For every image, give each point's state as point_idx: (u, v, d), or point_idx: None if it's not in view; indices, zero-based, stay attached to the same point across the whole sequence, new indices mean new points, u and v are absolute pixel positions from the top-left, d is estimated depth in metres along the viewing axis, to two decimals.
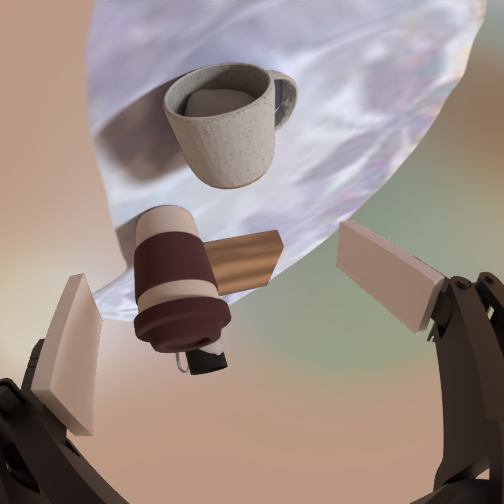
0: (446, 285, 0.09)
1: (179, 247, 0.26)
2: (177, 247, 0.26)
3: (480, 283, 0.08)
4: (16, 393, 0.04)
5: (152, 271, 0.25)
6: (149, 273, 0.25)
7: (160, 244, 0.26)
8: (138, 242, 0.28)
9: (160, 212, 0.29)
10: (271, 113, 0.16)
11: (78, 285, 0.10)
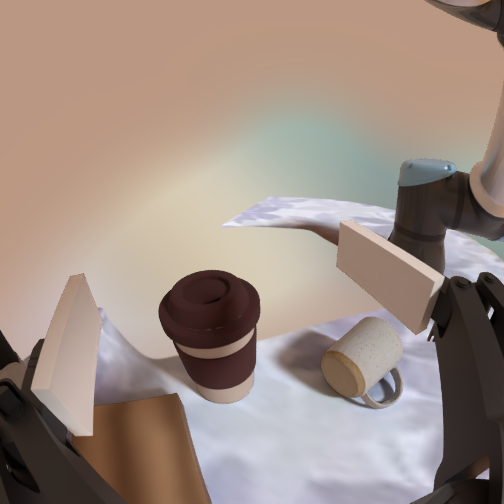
0: (446, 285, 0.09)
1: None
2: None
3: (480, 283, 0.08)
4: (16, 393, 0.04)
5: None
6: None
7: None
8: None
9: None
10: (393, 348, 0.27)
11: (78, 285, 0.10)
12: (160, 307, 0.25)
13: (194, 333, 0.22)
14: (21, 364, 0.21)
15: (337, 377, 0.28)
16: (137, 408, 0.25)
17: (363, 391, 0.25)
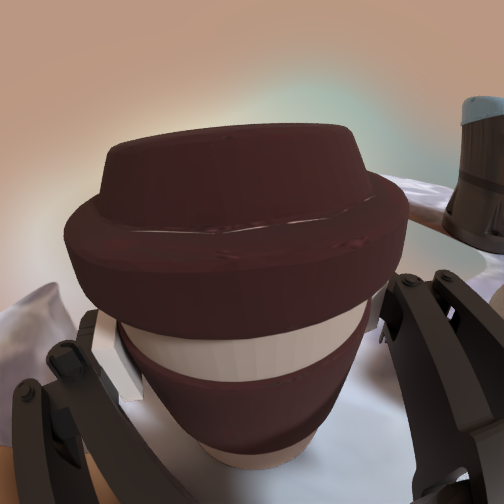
0: (392, 284, 0.10)
1: None
2: None
3: (437, 283, 0.09)
4: (78, 356, 0.06)
5: None
6: None
7: None
8: None
9: None
10: None
11: None
12: (84, 203, 0.07)
13: (171, 245, 0.04)
14: None
15: None
16: None
17: None
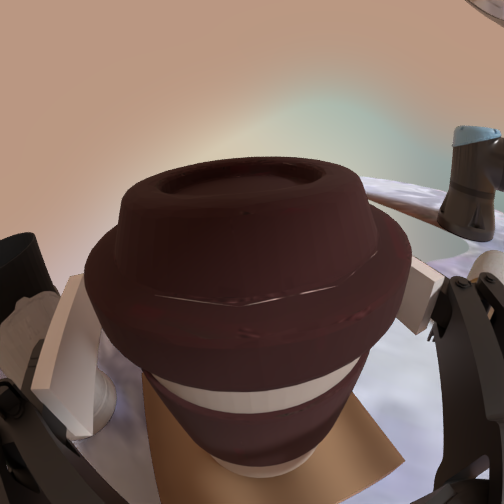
0: (446, 285, 0.09)
1: None
2: None
3: (480, 283, 0.08)
4: (16, 394, 0.04)
5: None
6: None
7: None
8: None
9: None
10: None
11: (78, 285, 0.10)
12: (99, 242, 0.08)
13: (197, 319, 0.04)
14: None
15: None
16: None
17: None
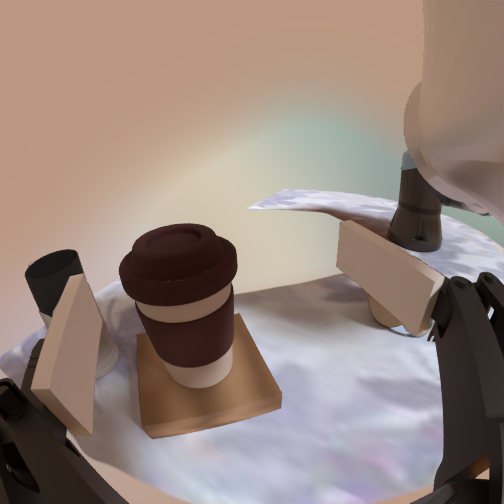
0: (446, 285, 0.09)
1: (233, 322, 0.25)
2: None
3: (480, 283, 0.08)
4: (16, 393, 0.04)
5: None
6: None
7: None
8: None
9: None
10: None
11: (78, 285, 0.10)
12: (123, 260, 0.21)
13: (150, 284, 0.18)
14: None
15: (383, 308, 0.34)
16: None
17: None
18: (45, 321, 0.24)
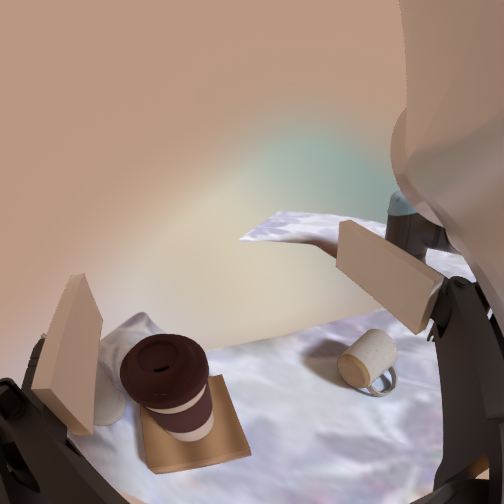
0: (446, 285, 0.09)
1: (210, 401, 0.29)
2: (210, 400, 0.29)
3: None
4: (16, 393, 0.05)
5: None
6: None
7: None
8: None
9: None
10: (390, 352, 0.37)
11: (78, 285, 0.10)
12: (122, 364, 0.26)
13: (144, 396, 0.22)
14: None
15: (349, 373, 0.38)
16: None
17: (368, 383, 0.35)
18: None
